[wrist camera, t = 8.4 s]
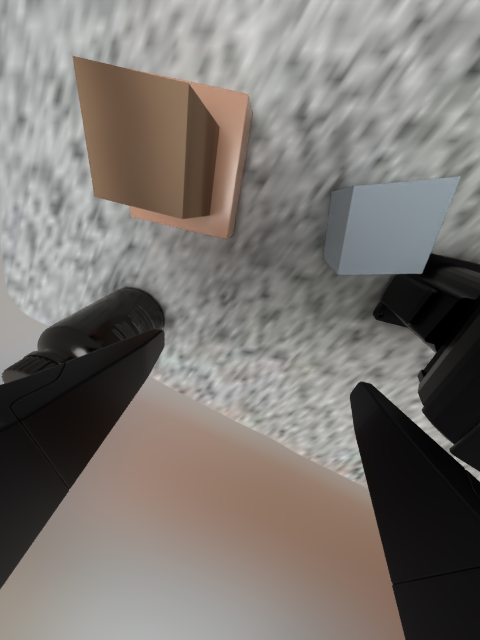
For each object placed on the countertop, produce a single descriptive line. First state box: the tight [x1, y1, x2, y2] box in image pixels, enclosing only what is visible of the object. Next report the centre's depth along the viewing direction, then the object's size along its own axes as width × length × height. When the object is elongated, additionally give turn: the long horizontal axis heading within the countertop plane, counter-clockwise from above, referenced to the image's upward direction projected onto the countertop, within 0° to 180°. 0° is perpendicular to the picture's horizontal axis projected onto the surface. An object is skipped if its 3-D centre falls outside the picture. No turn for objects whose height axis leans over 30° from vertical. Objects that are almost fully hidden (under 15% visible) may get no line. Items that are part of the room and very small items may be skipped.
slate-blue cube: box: [323, 176, 461, 275], centre depth 14 cm, size 5×5×5 cm
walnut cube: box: [73, 56, 220, 219], centre depth 11 cm, size 5×5×5 cm
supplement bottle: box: [2, 288, 163, 383], centre depth 19 cm, size 7×7×12 cm
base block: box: [126, 68, 253, 239], centre depth 15 cm, size 8×8×3 cm
